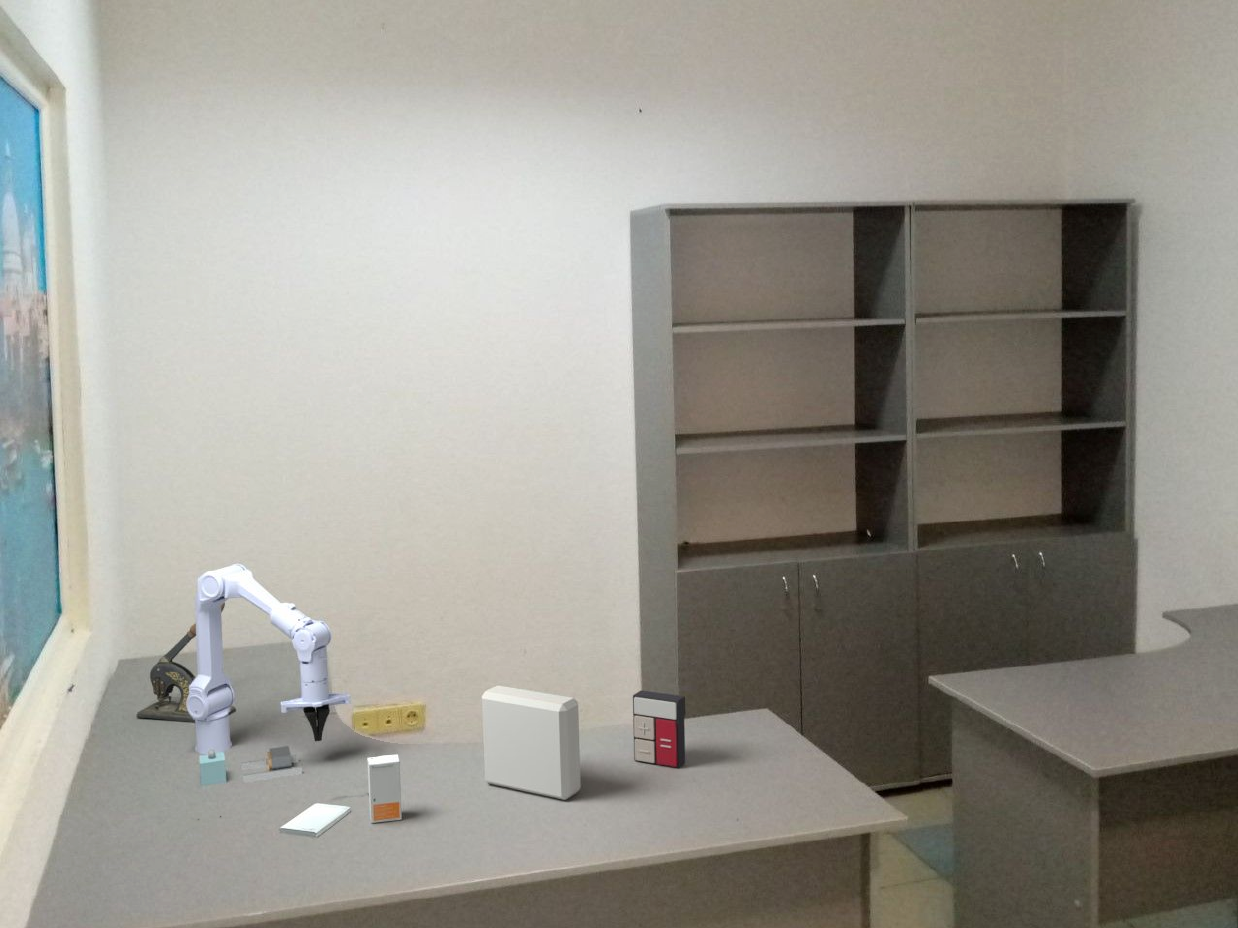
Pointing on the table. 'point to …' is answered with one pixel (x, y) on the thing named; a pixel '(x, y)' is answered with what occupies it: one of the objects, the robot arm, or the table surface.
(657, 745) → the calculator
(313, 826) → the hard drive
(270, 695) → the table surface
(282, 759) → the block
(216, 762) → the block
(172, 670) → the embossing press
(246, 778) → the frame
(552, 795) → the bevelled white case
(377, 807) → the skincare box
